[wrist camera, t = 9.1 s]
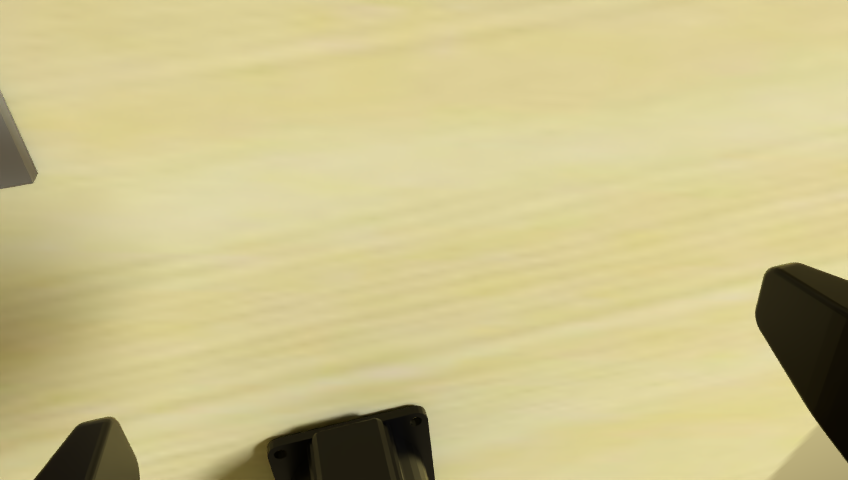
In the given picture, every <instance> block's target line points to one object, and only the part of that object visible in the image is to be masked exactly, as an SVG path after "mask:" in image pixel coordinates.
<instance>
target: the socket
mask: <svg viewBox="0 0 848 480" xmlns="http://www.w3.org/2000/svg"><path fill="white" fill-rule="evenodd" d="M37 174H38V172H37V170H36V168H35V166H34V164H33V161H32V159H31V157H30V155H29V153H28V150H27V148H26V146H25V144H24V142H23V139H22V137H21V135H20V133H19V130H18V128H17V126H16V124H15V122H14V119H13V117H12V115H11V113H10V111H9V108H8V106H7V104H6V102H5V100H4V97H3V95H2V93H1V91H0V189H3V188H9V187H15V186H20V185H26V184H32V183H33V182H34V180H35V178H36V176H37Z"/></svg>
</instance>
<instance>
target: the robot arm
mask: <svg viewBox="0 0 848 480" xmlns="http://www.w3.org/2000/svg"><path fill="white" fill-rule="evenodd" d="M755 318H756V322H757V325H758V327H759V329H760V331H761V333H762V334H763V336H764V338H765V339H766V341H767V342H768V344H769V346H770V347H771V349H772V351H773V352H774V354H775V356H776V357H777V359H778V361H779V362H780V364H781V366H782V367H783V369H784V370H785V372H786V374H787V375H788V377H789V379H790V380H791V382H792V384H793V385H794V387H795V389H796V390H797V392H798V393H799V395H800V397H801V398H802V400H803V402H804V403H805V405H806V406H807V408H808V409H809V411H810V412H811V414H812V415H813V417H814V418H815V420H816V421H817V422H818V424H819V425H820V427H821V428H822V429H823V431H824V432H825V433H826V435H827V436H828V437H829V439H830V440H831V441H832V443H833V444H834V445H835V447H836V448H837V449H838V451H839V452H840V453H841V455H842V456H843V457H844V459H845V460H846V461H847V463H848V280H845V279H843V278H840V277H837V276H834V275H831V274H829V273H826V272H823V271H820V270H818V269H815V268H812V267H809V266H807V265H804V264H801V263H796V262H795V263H788V264H783V265H779V266H774V267H771V268H769V269H768V270H767V271H766V273H765V274H764V277H763V281H762V285H761V289H760V293H759V297H758V301H757V305H756V310H755ZM415 417H417V418H415ZM413 418H415V419H413ZM267 450H268V459H269V462H270V465H271V469H272V472H273V475H274V478H275V480H435V476H434V468H433V459H432V451H431V442H430V434H429V425H428V418H427V415H426V412H425V409H424V408H423V407H421V406H411V407H407V408H403V409H398V410H394V411H390V412H386V413H382V414H377V415H373V416H369V417H365V418H361V419H356V420H352V421H348V422H344V423H340V424H335V425H331V426H327V427H323V428H319V429H315V430H310V431H306V432H302V433H298V434H294V435H289V436H285V437H281V438H277V439H274V440H272V441H271V442H270V443H269V444H268V446H267ZM279 450H282V451H279ZM34 480H140V475H139V467H138V462H137V459H136V456H135V454H134V452H133V450H132V448H131V446H130V444H129V442H128V440H127V438H126V436H125V434H124V432H123V430H122V428H121V426H120V424H119V422H118V421H117V420H116V419H115V418H113V417H104V418H100V419H95V420H91V421H87V422H83V423H81V424H79V425H78V426H76V427H75V428H74V430H73V431H72V432H71V433H70V435H69V436H68V437H67V438H66V440H65V441H64V442H63V443H62V445H61V446H60V447H59V449H58V450H57V451H56V452H55V454H54V455H53V456H52V457H51V459H50V460H49V461H48V462H47V464H46V465H45V466H44V467H43V469H42V470H41V471H40V473H39V474H38V475H37V476H36V478H35V479H34Z"/></svg>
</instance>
